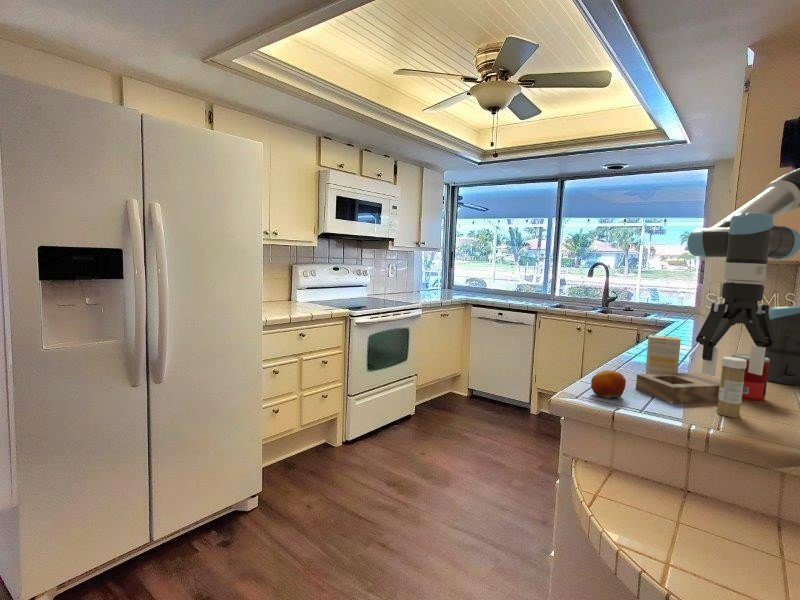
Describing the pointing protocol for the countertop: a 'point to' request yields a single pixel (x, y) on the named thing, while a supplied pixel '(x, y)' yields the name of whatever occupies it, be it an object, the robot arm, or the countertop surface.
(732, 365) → the sprinkles bottle
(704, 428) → the countertop surface
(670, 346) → the supplement box
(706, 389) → the caddy
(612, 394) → the fruit
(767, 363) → the canned food
